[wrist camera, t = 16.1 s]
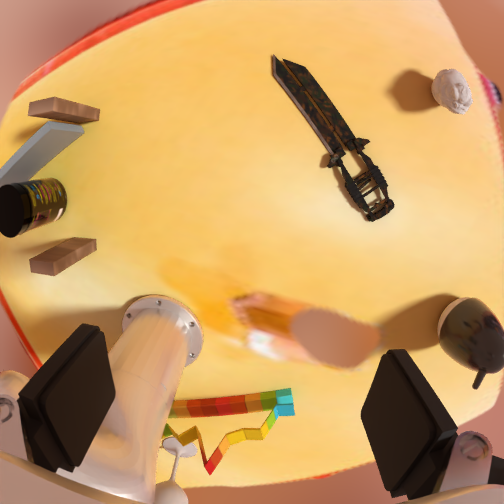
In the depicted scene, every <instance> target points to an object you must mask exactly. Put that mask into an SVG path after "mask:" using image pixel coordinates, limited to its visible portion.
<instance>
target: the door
mask: <svg viewBox="0 0 504 504" xmlns="http://www.w3.org/2000/svg"><path fill="white" fill-rule="evenodd" d="M82 134H84V130H83V128H82V126H79V125H72V124H66V123H59V122H51V121H48V122H47V123H46V124H45V125H43V126H42V127H41V128H40V129H39V130H38V131H37V132H36V133H35V134H34V135H33V136H32V137H31V138H30V139H29V140H28V141H27V142H26V143H25V144H24V145H23V146H22V147H21V148H20V149H19V150H18V151H17V152H16V153H15V154H14V155H13V156H12V157H11V158H10V159H9V160H8V161H7V162H6V163H5V165H4V166H3V167H2V168H1V169H0V187H1V186H3V185H6V184H11V183H19V182H25V181H28V180H29V179H30V178H31V177H33V176H34V175H35V174H36V173H37V172H38V171H39V170H40V169H41V168H42V167H43V166H45V165H46V164H47V163H48V162H49V161H50V160H51V159H53V158H54V157H55V156H56V155H57V154H59V153H60V152H61V151H62V150H63V149H65V148H66V147H67V146H68V145H70V144H71V143H72V142H73V141H75V140H76V139H77V138H78V137H80V136H81V135H82Z"/></svg>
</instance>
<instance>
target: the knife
mask: <svg viewBox="0 0 504 504" xmlns="http://www.w3.org/2000/svg"><path fill="white" fill-rule="evenodd" d="M283 61H284V62H285V64H286V65H287V66H288V67H289V69H290V70H291V71H292V72H293V74H294V75H295V76H296V77H297V79H298V80H299V81H300V82H301V84H302V85H303V86H302V87H300V86H299V85H298V84H297V83H296V81H295V80H294V79H293V77H292V76H291V75H290V74H289V72H288V71H287V70H286V69H285V67H284V66H283V65H282V64H281V62H280V61H279V60H278V59H277V58H276V56H275V55H273V75H274V77H275V78H276V79H277V80H278V82H279V83H280V84H281V86H282V87H283V88H284V89H285V91H286V92H287V93H288V95H289V96H290V97H291V99H292V100H293V101H294V103H295V104H296V105H297V107H298V108H299V109H300V111H301V112H302V113H303V115H304V116H305V118H306V119H307V120H308V122H309V123H310V125H311V126H312V127H313V129H314V130H315V132H316V133H317V135H318V136H319V138H320V139H321V141H322V142H323V143H324V145H325V146H326V148H327V149H328V151H329V153H330V154H331V155H330V156H331V159H330V162H329V165H327V166H328V168H331V167H333V166H334V165H336V166H339V167H341V170H342V175H343V177H344V179H345V181H346V182H347V183H345V187H346V188H347V190H348V191H349V194H350V195H351V197H352V198H353V200H354V202H355V203H357V204H358V206H359V208H362V209H363V210H364V211H365V212H367V213H369V214H368V215H367V216H366V217H367V219H368V220H369V221H371V222H373V221H375V220H377V219H380V218H382V217H383V216H385V215H386V214H388V213H389V212H390V211H391V210H392V209H393V208H394V203H393V201H392V200H391V199H389V197H388V192H387V186H388V185H387V183H386V180H385V179H384V176H382V175H383V174H382V173H381V172H380V169H378V168H379V167H378V166H376V165H374V164H373V162H372V160H371V159H370V158H369V157H368V156H367V155H365V154H364V153H363V152H362V150H363V149H365V148H364V146H365V145H366V144H368V143H369V142H370V141H369V140H368V139H362V138H357V139H356V137H355V136H354V134H353V133H352V131H351V130H350V128H349V127H348V125H347V124H346V122H345V121H344V119H343V118H342V116H341V115H340V113H339V112H338V110H337V109H336V107H335V106H334V105H333V103H332V102H331V100H330V99H329V98H328V96H327V95H326V94H325V92H324V91H323V89H322V88H321V87H320V85H319V84H318V83H317V81H316V80H315V79H314V77H313V76H312V75H311V74H310V72H309V71H308V70H307V69H306V67H304V66H302V65H299V64H296V63H293V62H291V61H288V60H285V59H283ZM305 90H307V92H308V93H309V94H310V96H311V97H312V98H313V100H314V101H315V103H316V104H317V105H318V107H319V108H320V109H321V111H322V112H323V114H324V115H325V117H326V118H327V119H328V121H329V122H330V124H331V126H328V125H327V124H326V122H325V121H324V119H323V118H322V116H321V115H320V114H319V112H318V111H317V109H316V108H315V107H314V105H313V104H312V102H311V101H310V100H309V98H308V97H307V96H306V94H305V93H304V92H303V91H305ZM333 131H336V133H337V134H338V136H339V137H340V139H341V140H342V142H343V143H344V145H345V146H347V147H348V149H349V151H352V150H353V149H355V148H356V150H357V153H358V154H360V155H361V157H362V158H363V160H364V162H365V163H366V165H367V167H368V168H369V170H370V171H368V172H365V173H363V174H362V175H361V176H359V177H357V178H356V179H354V181H353V179H352V178H351V176H350V174H349V173H348V171H347V170H346V168H345V166H344V165H343V161H342V160H341V157H343V156H344V155H346V153H345V152H344V150H343V148H342V146H341V144H340V143H339V141H338V140H337V138H336V137H335V135H334V134H333ZM370 173H372V174H371V175H369V176H368V177H366V178H364V179H362V178H363V177H364V176H366V175H368V174H370ZM371 177H374V180H376V183H377V184H378V185H377V186H375V187H374V188H372V189H371V190H369V191H368V192H366V193H365V194H363V195H362V193H361V192H360V191H359V190H361V189H362V188H363V187H364V186H365V185H366V184H368V183H369V182H370V181H371V179H369V178H371ZM360 179H362V180H360ZM367 179H369V180H367ZM359 180H360V181H359ZM365 180H367V181H366V182H365V183H364V184H362V185H361V186H360V187H359V188H357V187H358V186H357V185H358V184H360V183H362V182H364V181H365ZM358 181H359V182H358ZM356 182H357V183H356ZM355 183H356V184H357V185H356V184H355ZM378 187H380V189H381V191H382V193H383V195H384V196H385V199H383V200H382V201H380V202H379V203H375V206H373V207H372V208H369V207H368V205H367V203H366V201H365V200H364V197H365V196H367V195H368V194H370V193H371V192H372V191H374V190H375V189H377V188H378ZM385 201H387V202H386V203H387V204H386V205H384V207H383V208H381V209H380V210H379V211H377V212H376V213H374V214H372V212H371V211H373V210H374V209H375V208H377V207H378V206H380V205H381V204H383V203H384V202H385Z"/></svg>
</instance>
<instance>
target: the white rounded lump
mask: <svg viewBox="0 0 504 504" xmlns="http://www.w3.org/2000/svg"><path fill="white" fill-rule="evenodd" d="M431 90H432V94H433V97H434V99H435V100H436V101H437V102H438V103H439V104H440V105H441V106H443V107H445V108H447V109H448V110H449V111H451V112H453V113H457V114H465V112H466V111H468V109H469V107H470V105H471V104H472V102H473V100H472V98H471V91H470V88H469V86H468V83H467V81H466V80H465V78H464V76H463V75H462V74H461V73H460V72H458V71H457V70H455V69H449V70H442V71H440V72H439V73H438V74H437V76H436V77H435V79H434V81H433V83H432V86H431Z"/></svg>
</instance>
